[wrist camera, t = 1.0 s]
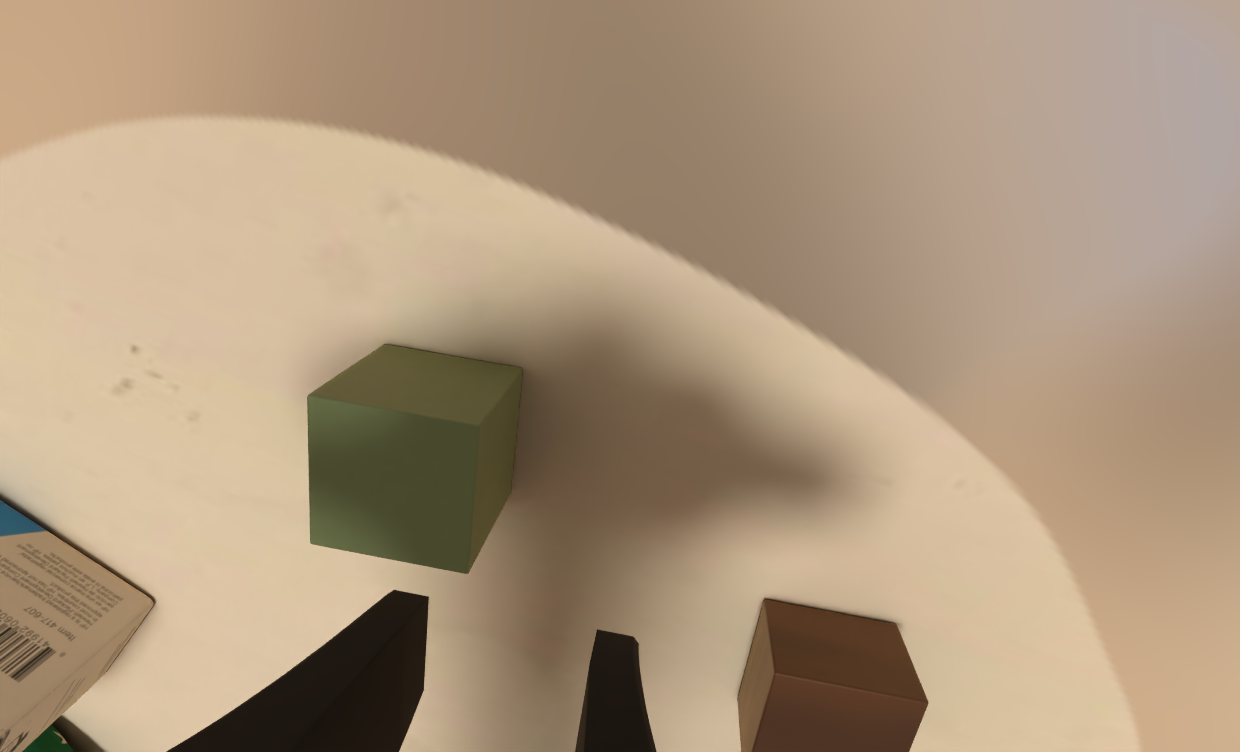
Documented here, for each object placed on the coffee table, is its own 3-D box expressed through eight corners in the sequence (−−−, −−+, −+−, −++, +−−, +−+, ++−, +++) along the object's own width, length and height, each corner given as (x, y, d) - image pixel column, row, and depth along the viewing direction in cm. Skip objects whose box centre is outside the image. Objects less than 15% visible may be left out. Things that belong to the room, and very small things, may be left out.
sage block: (511, 492, 20) (468, 575, 16) (381, 468, 20) (309, 544, 16) (523, 367, 19) (479, 426, 15) (384, 343, 19) (306, 394, 15)
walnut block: (861, 723, 21) (886, 812, 19) (736, 698, 22) (742, 782, 19) (897, 623, 20) (929, 702, 17) (763, 598, 20) (774, 672, 17)
